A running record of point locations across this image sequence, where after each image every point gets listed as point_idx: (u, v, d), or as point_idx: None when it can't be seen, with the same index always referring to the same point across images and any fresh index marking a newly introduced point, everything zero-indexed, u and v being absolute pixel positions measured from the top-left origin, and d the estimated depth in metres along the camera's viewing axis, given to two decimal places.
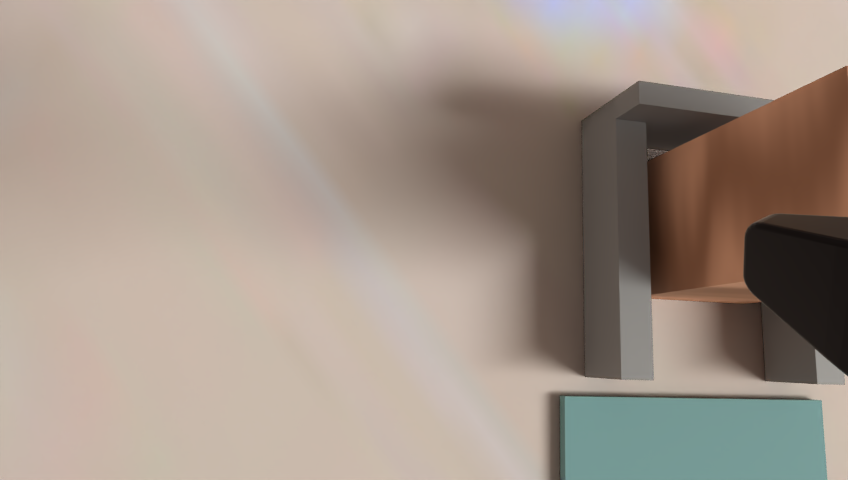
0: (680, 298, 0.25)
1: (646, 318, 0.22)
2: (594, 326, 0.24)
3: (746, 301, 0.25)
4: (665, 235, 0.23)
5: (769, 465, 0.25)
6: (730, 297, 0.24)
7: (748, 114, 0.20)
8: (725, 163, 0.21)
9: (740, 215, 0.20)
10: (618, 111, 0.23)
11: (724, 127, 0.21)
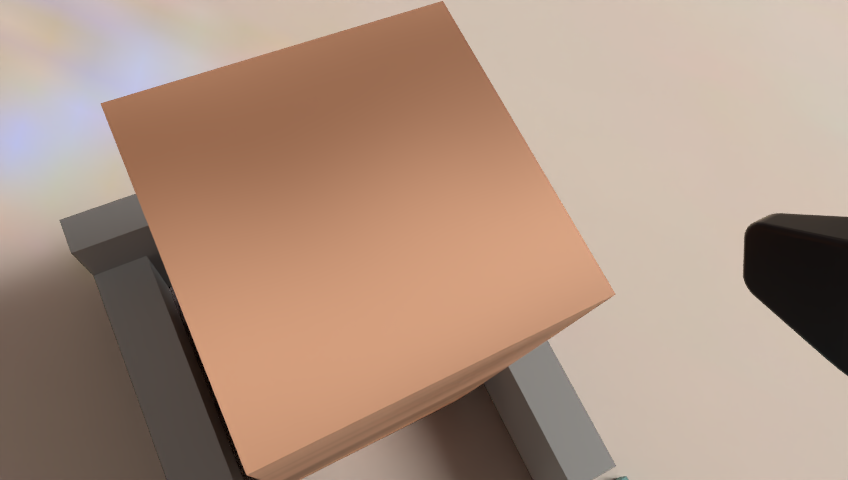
0: (348, 454, 0.16)
1: None
2: None
3: (446, 404, 0.17)
4: None
5: None
6: (397, 427, 0.16)
7: None
8: None
9: None
10: None
11: None
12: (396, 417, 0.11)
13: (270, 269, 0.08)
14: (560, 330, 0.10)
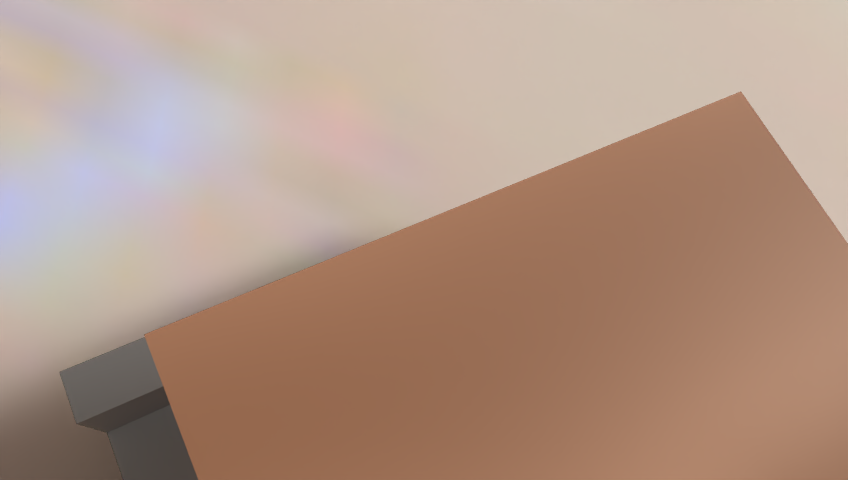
0: None
1: None
2: None
3: None
4: None
5: None
6: None
7: None
8: None
9: None
10: None
11: None
12: None
13: None
14: None
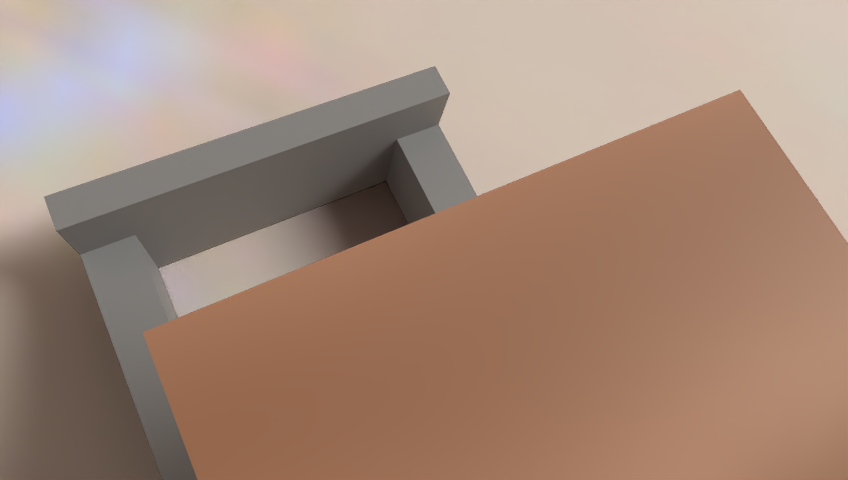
0: None
1: None
2: None
3: None
4: None
5: None
6: None
7: None
8: None
9: None
10: None
11: None
12: None
13: None
14: None
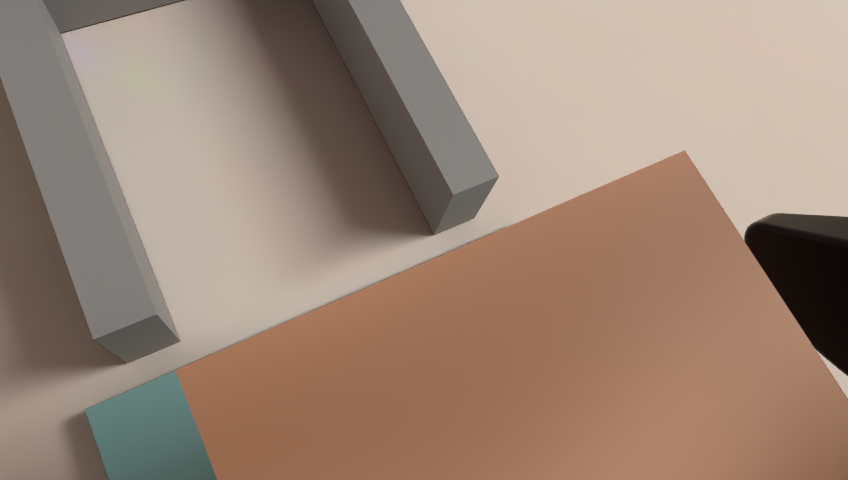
0: None
1: (112, 227, 0.13)
2: None
3: None
4: None
5: None
6: None
7: None
8: None
9: None
10: None
11: None
12: None
13: None
14: None
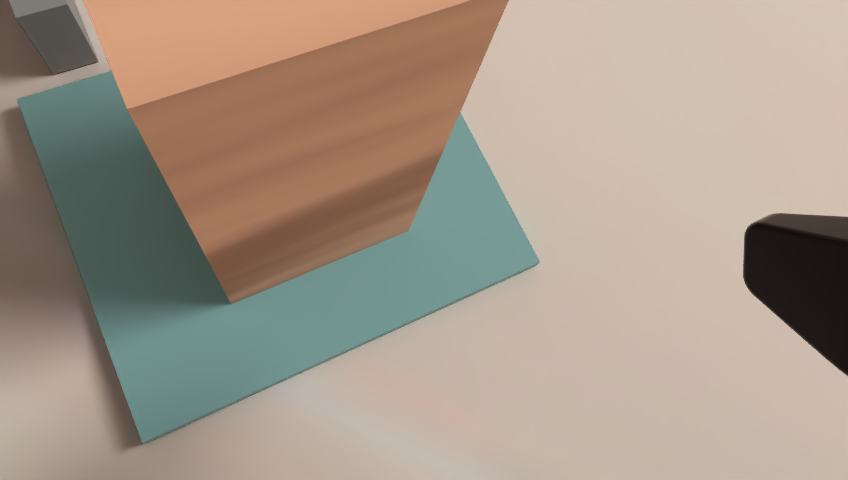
0: (294, 271, 0.17)
1: None
2: None
3: (393, 228, 0.17)
4: None
5: None
6: (340, 238, 0.16)
7: None
8: None
9: None
10: None
11: None
12: (316, 167, 0.11)
13: None
14: (475, 67, 0.10)
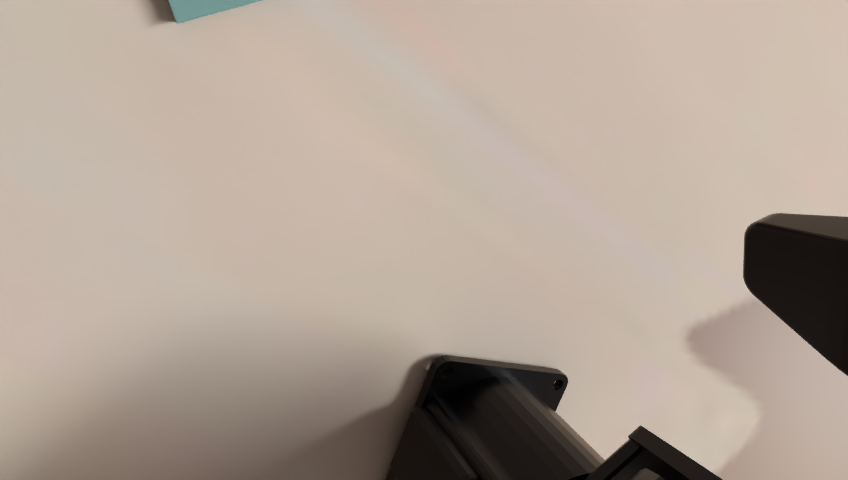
0: None
1: None
2: None
3: None
4: None
5: None
6: None
7: None
8: None
9: None
10: None
11: None
12: None
13: None
14: None
